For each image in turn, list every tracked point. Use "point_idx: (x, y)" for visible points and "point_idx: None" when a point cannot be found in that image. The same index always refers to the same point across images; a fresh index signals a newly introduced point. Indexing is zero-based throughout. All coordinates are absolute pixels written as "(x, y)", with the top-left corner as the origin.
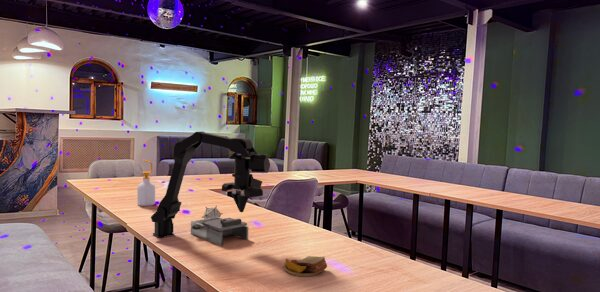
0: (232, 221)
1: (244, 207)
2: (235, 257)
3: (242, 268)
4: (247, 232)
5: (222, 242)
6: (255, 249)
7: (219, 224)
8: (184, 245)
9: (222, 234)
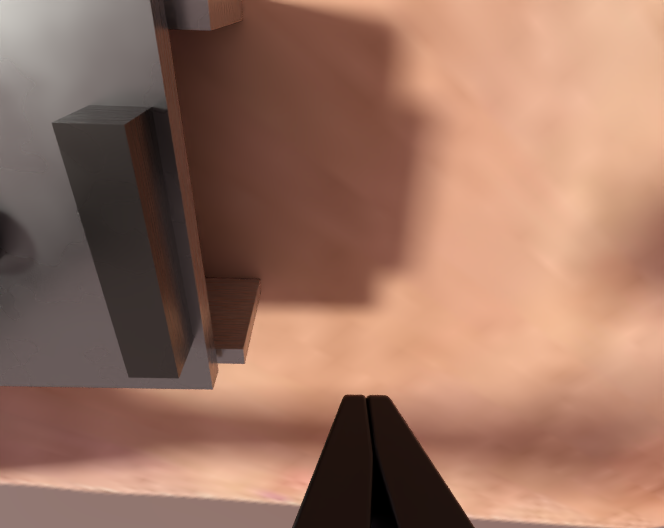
0: (161, 279)
1: (441, 482)
2: (517, 347)
3: (659, 405)
4: (226, 11)
5: (257, 293)
6: (524, 159)
7: (57, 319)
8: (121, 416)
9: (246, 336)
